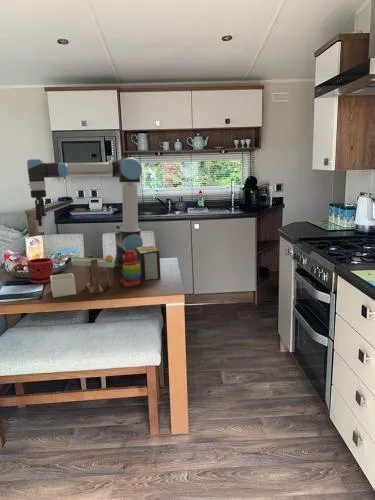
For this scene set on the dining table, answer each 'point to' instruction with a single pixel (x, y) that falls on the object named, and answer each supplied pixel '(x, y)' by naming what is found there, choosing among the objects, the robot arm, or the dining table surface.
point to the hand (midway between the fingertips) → (42, 230)
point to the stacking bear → (130, 269)
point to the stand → (97, 277)
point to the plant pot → (40, 270)
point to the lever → (87, 261)
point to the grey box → (63, 285)
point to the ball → (109, 258)
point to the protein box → (148, 262)
